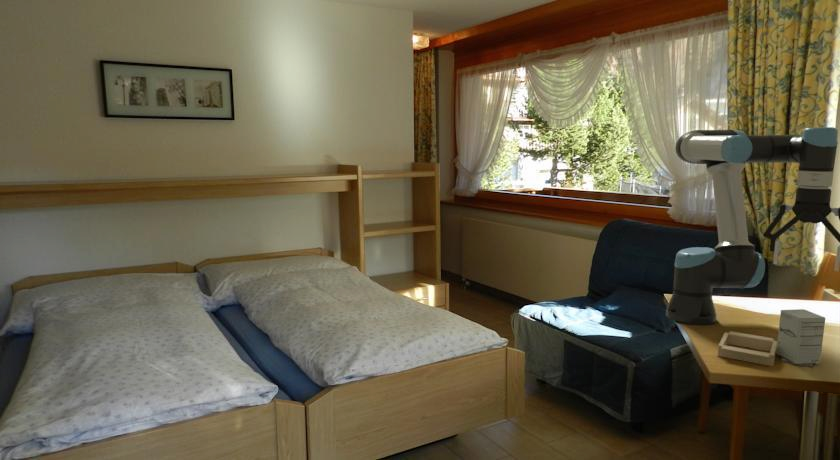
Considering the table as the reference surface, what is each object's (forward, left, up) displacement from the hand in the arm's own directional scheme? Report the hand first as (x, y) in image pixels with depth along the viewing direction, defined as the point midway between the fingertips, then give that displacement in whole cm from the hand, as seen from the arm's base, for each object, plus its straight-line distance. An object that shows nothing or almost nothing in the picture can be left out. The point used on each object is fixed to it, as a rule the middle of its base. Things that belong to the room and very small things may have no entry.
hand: (804, 266), depth 151 cm
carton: (-11, -5, -25) cm, 28 cm away
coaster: (0, -3, -25) cm, 25 cm away
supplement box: (+1, -3, -25) cm, 25 cm away
